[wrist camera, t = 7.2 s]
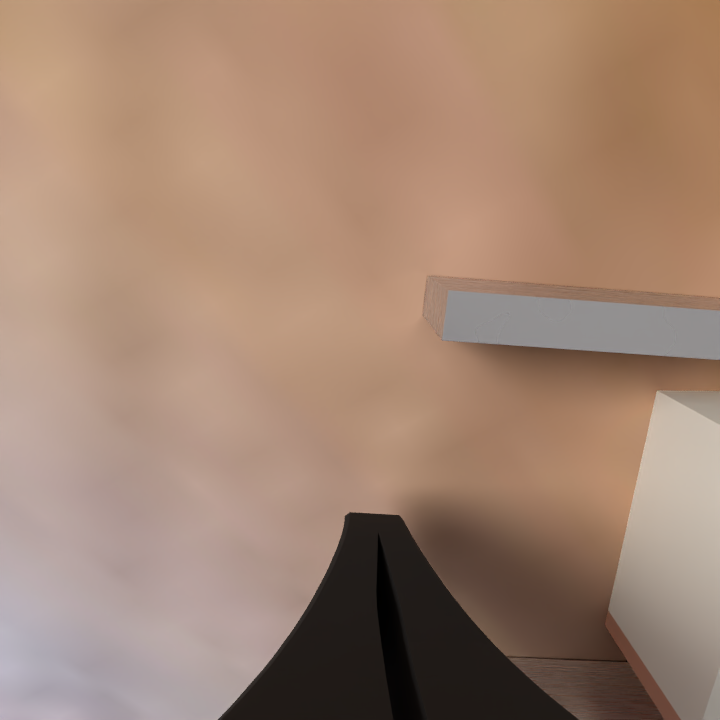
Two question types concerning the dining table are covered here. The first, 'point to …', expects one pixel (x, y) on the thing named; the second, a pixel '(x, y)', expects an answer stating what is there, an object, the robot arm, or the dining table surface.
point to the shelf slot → (591, 333)
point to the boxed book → (674, 560)
